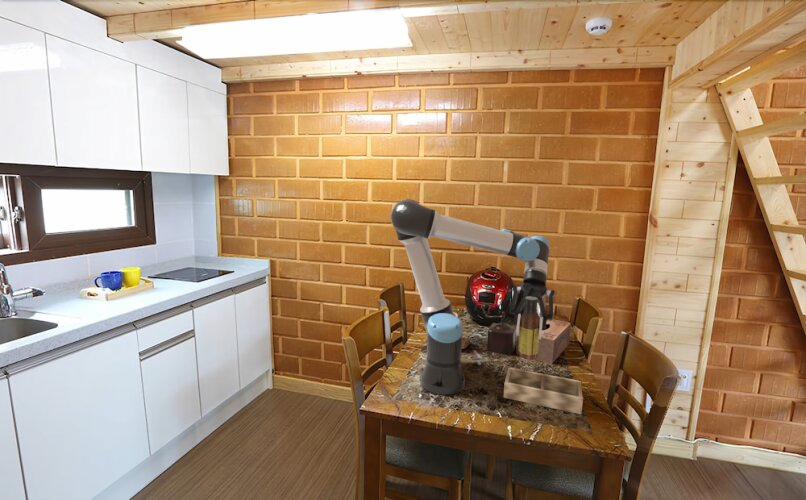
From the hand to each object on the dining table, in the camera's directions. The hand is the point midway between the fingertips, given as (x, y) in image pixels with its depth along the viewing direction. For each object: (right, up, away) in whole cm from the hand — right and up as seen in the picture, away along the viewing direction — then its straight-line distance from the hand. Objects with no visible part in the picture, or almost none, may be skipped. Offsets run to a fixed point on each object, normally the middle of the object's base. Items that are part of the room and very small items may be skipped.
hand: (528, 335), depth 119 cm
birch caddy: (+6, -21, +5) cm, 22 cm away
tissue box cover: (+21, -16, +43) cm, 50 cm away
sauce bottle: (+1, -8, +5) cm, 9 cm away
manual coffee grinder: (0, -15, +43) cm, 46 cm away
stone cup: (-19, -15, +43) cm, 49 cm away
